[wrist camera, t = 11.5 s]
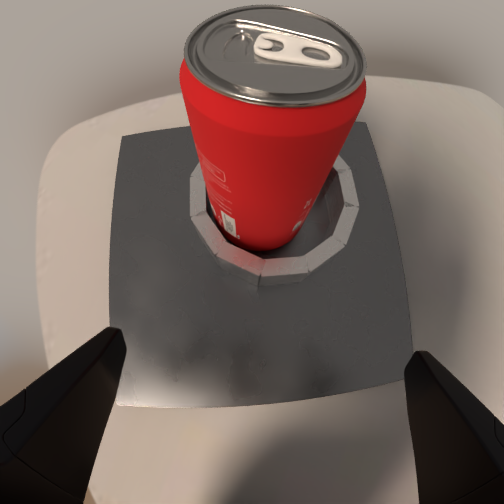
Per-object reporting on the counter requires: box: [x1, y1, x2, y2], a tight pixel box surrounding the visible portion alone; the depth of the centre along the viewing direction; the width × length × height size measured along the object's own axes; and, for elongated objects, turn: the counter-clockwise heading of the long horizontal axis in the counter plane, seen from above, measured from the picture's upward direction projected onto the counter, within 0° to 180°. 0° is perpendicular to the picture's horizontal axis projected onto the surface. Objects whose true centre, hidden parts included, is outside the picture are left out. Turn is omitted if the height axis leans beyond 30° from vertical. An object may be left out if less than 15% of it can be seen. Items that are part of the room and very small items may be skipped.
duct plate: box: [109, 122, 413, 408], centre depth 16 cm, size 18×18×4 cm
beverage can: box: [180, 5, 367, 251], centre depth 12 cm, size 5×5×12 cm
